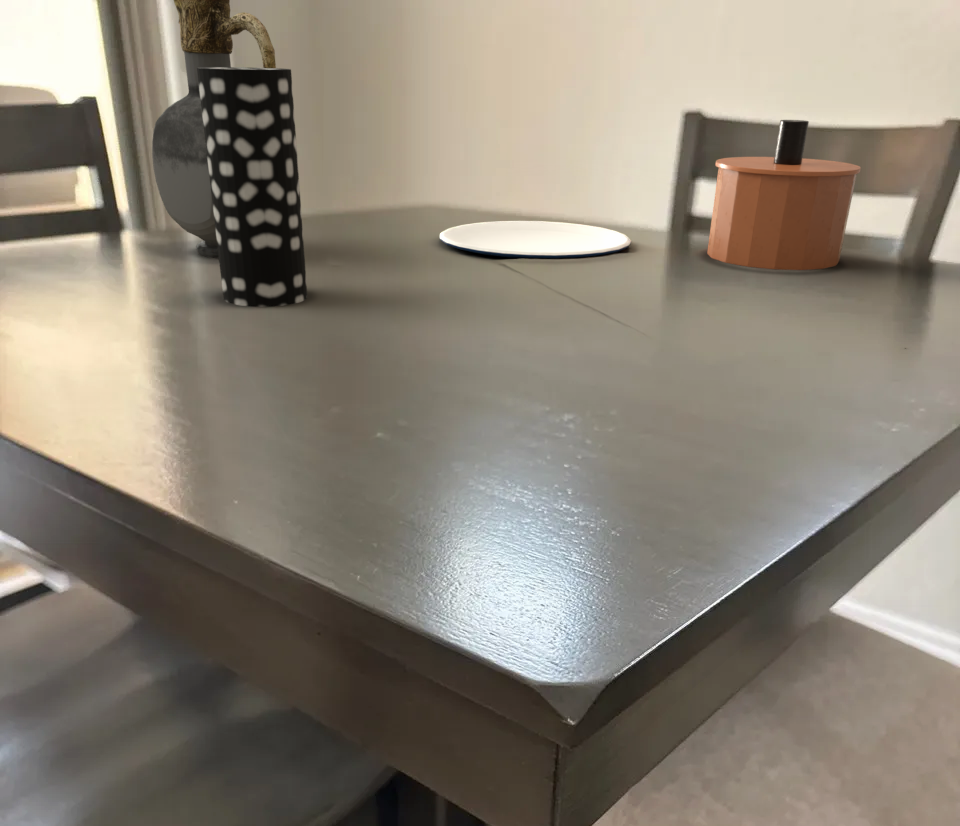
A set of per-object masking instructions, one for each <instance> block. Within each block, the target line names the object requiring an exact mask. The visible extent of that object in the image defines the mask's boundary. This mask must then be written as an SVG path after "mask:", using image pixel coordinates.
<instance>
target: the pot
mask: <svg viewBox="0 0 960 826" xmlns="http://www.w3.org/2000/svg"><path fill="white" fill-rule="evenodd" d="M857 175H858V174H855V175H847V176H824V177H818V176H784V175H768V174H756V173H746V172H738V171H732V170H726V169H722V168H719V167H718V170H717V177H716V186H715V191H714V199H713V207H712V213H711V214H712V215H711V222H710V228H709V229H710V230H709V238H708V246H707V251H706V252H707V253H706V254H707V255H708V256H709V257H710V258H711V259H712V260H716V261H720V262H722V263H726V264H730V265H737V266H741V267H747V268H756V269H767V270H779V271H780V270H784V271H785V270H786V271H788V270H789V271H807V270H809V271H810V270H823V269H827V268H828V269H829V268H832V267H836V266H837V265H838V264H839V262H840V259H841V253H842V250H843V244H844V239H845V236H846V235H845V234H846V231H847V224H848V220H849V214H850V209H851V204H852V200H853V196H854V195H853V194H854V189H855V185H856V181H857Z"/></svg>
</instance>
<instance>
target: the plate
mask: <svg viewBox="0 0 960 826" xmlns="http://www.w3.org/2000/svg"><path fill="white" fill-rule="evenodd" d="M439 241H441V242H442V243H444V244H445V245H446V246H448V247H450V248H451V247H452V248H455V249H458V250H462V251H466V252H470V253H474V254H479V255H485V256H491V257H497V258H507V259H518V260H519V259H522V260H523V259H571V258H572V259H576V258H586V257H587V258H588V257H598V256H603V255H609V254H614V253H619V252H620V251H623V250H626V249H628V248H629V246H630V245H631V244H632V240H631V239H630V237H629V236H628V235H626V234H625V233H623V232H619V231H617V230H613V229H609V228H605V227H602V226H601V227H600V226H595V225H588V224H580V223H570V222H561V221H545V220H543V221H542V220H501V221H500V220H499V221H498V220H497V221H495V220H494V221H484V222H483V221H482V222H474V223H467V224H460V225H457V226H452V227H449V228H446V229H445V230H443V231H441V232H440V233H439Z"/></svg>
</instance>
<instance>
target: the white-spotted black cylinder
mask: <svg viewBox="0 0 960 826" xmlns="http://www.w3.org/2000/svg"><path fill="white" fill-rule="evenodd" d="M197 73H198V82H199V91H200V99H201V108H202V117H203V125H204V134H205V142H206V151H207V160H208V168H209V177H210V186H211V194H212V203H213V212H214V220H215V229H216V237H217V246H218V255H219V258H218V262H219V263H218V264H219V272H220V279H221V281H220V282H221V288H222V289H221V290H222V297H223V301H225V302H226V303H229V304H231V305H236V306H241V307H255V308H267V307H282V306H290V305H294V304H299V303H302V302H305V300H307V299H308V286H307V285H308V284H307V271H306V259H305V257H306V256H305V245H304V243H305V242H304V231H303V216H302V202H301V190H300V174H299V161H298V145H297V133H296V119H295V118H296V117H295V104H294V91H293V77H292V69H291V68H280V67H279V68H278V67H276V68H263V67H244V66H243V67H240V66H239V67H237V66H231V67H199V68H197Z"/></svg>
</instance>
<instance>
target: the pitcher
mask: <svg viewBox="0 0 960 826" xmlns="http://www.w3.org/2000/svg"><path fill="white" fill-rule="evenodd" d="M230 1H231V0H173V4H174V6H175V9H176V11H177V14H178V24H179V37H180V38H179V39H180V46H181V51H182V52H183V53H184V54H183V55H184V60H185V61H184V62H185V70H186V79H187V87H188V94H186V95H185V96H183V97H182V98H180V99H179V100H176V101H175V102H173V103H172V104H171V105H169V106H168V107H167V108H166V109H165V110H164V111H163V112H162V113H161V114H160V116H159V117H158V118H157V119H156V121H155V124H154V127H153V128H154V129H153V132H152V142H151V145H152V147H151V148H152V149H151V156H152V168H153V173H154V174H153V175H154V178H155V179H154V180H155V183H156V187H157V190H158V193H159V197H160V199H161V201H162V204H163V206H164V208H165V211H167V214H168V215H169V217H170V218H171V219H172V220H173V221H174V222H175V223H176V224H177V225H178V226H179V227H180V228H182V229H183V230H184V231H185V232H186V233H189V234H191V235H193V236H196V237H197V238H199V239H201V240H202V241H200V242H198V243H197V244H196V245H195V250H196V252H197V254H198V255H200V256H203V257H208V258H216V259H219V255H218V246H217V237H216V229H215V220H214V212H213V203H212V194H211V186H210V177H209V168H208V160H207V151H206V142H205V134H204V125H203V117H202V108H201V99H200V91H199V82H198V73H197V68H199V67H232V64H231V54H233V49H234V43H233V42H234V41H233V37H232V36H236V35H239V34H240V33H242V32H243V31H246V32H249V33H250V34H251V35H252V36H253V38H254V39H255V41H256V43H257V45H258V48H259V52H260V55H261V61H262V68H277V64H276V53H275V52H276V51H275V48H274V46H273V43H272V40H271V38H270V34H269V32H268V30H267V28H266V26H265V25H264V24H263V23H262V21H260V19H259V18H258V17H257V16H255V15H253V14H251V13H249V12H245V11H244V12H238V13H236V14H234V15H233V16H231V4H230V3H231V2H230Z"/></svg>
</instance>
